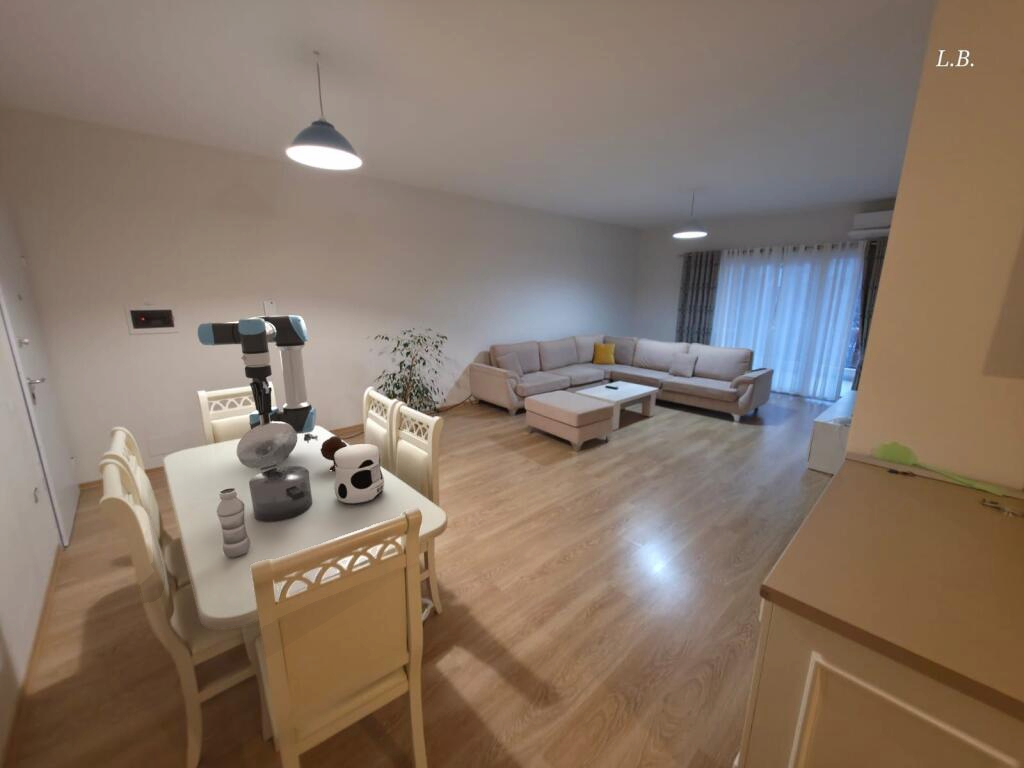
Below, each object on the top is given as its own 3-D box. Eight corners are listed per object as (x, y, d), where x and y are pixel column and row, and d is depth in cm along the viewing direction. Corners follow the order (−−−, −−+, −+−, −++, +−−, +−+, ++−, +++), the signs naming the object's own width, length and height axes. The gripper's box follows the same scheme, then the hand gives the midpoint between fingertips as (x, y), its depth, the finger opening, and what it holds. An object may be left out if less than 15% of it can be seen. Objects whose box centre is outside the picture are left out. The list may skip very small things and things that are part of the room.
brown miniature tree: (354, 463, 179) (351, 431, 176) (341, 474, 169) (337, 440, 165) (331, 462, 180) (328, 431, 177) (317, 473, 170) (313, 440, 166)
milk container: (335, 490, 155) (331, 446, 151) (382, 482, 162) (379, 440, 158) (335, 512, 139) (330, 464, 135) (387, 502, 146) (383, 456, 142)
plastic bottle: (232, 547, 120) (221, 486, 116) (256, 546, 121) (246, 485, 116) (219, 561, 114) (207, 497, 110) (244, 560, 115) (233, 496, 110)
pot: (246, 509, 141) (241, 478, 139) (299, 490, 155) (295, 461, 152) (272, 535, 126) (267, 500, 124) (329, 512, 140) (325, 480, 137)
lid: (238, 477, 139) (234, 470, 141) (295, 460, 153) (291, 454, 155) (237, 431, 130) (233, 424, 132) (298, 418, 144) (293, 412, 146)
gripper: (238, 364, 136) (248, 429, 142) (251, 369, 128) (261, 438, 133) (262, 361, 142) (271, 424, 147) (277, 365, 133) (285, 433, 139)
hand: (266, 431), depth 140 cm, fingers closed
